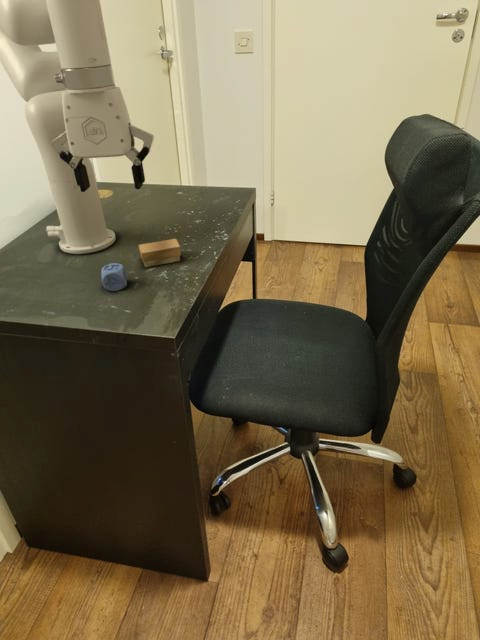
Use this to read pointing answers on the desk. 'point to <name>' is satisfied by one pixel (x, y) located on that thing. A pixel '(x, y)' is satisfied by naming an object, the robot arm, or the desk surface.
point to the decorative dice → (114, 277)
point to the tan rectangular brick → (160, 252)
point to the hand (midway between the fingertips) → (112, 188)
